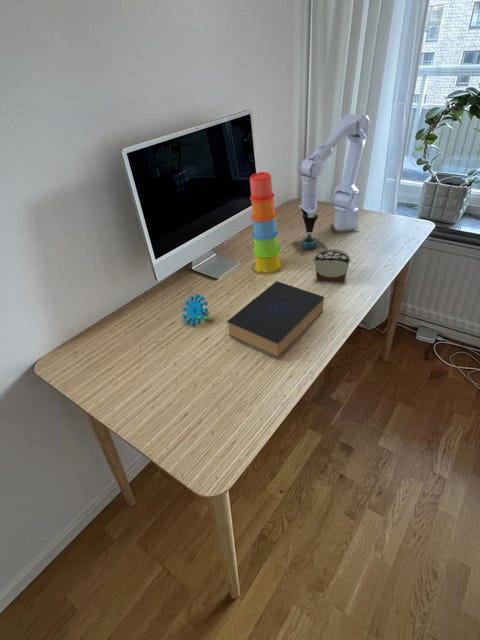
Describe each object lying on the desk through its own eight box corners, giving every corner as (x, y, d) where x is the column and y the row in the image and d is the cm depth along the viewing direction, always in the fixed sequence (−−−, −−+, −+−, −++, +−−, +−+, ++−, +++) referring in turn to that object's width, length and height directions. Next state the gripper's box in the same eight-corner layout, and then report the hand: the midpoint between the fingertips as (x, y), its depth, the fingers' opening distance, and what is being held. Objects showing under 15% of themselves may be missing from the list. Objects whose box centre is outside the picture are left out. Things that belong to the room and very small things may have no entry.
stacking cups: (282, 273, 139) (281, 177, 118) (254, 275, 140) (248, 180, 119) (280, 259, 147) (278, 167, 126) (253, 261, 148) (247, 170, 127)
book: (229, 338, 112) (227, 320, 108) (276, 297, 127) (276, 280, 123) (278, 361, 103) (277, 342, 99) (323, 314, 118) (324, 296, 114)
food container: (349, 275, 135) (352, 249, 129) (348, 284, 130) (351, 258, 124) (314, 272, 138) (315, 247, 132) (312, 281, 133) (313, 256, 127)
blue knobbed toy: (175, 313, 122) (192, 287, 120) (187, 317, 126) (203, 292, 125) (195, 333, 115) (212, 306, 114) (207, 336, 120) (224, 310, 119)
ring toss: (314, 239, 159) (315, 227, 156) (326, 249, 151) (326, 237, 148) (292, 244, 157) (292, 232, 154) (303, 254, 149) (303, 242, 146)
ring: (315, 241, 156) (315, 236, 154) (317, 247, 151) (317, 243, 150) (301, 242, 156) (301, 237, 155) (302, 248, 152) (302, 243, 150)
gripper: (297, 187, 148) (296, 221, 156) (300, 201, 136) (299, 236, 144) (315, 186, 147) (314, 220, 155) (320, 200, 136) (318, 235, 144)
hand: (308, 227), depth 150 cm, fingers open, 7 cm apart
